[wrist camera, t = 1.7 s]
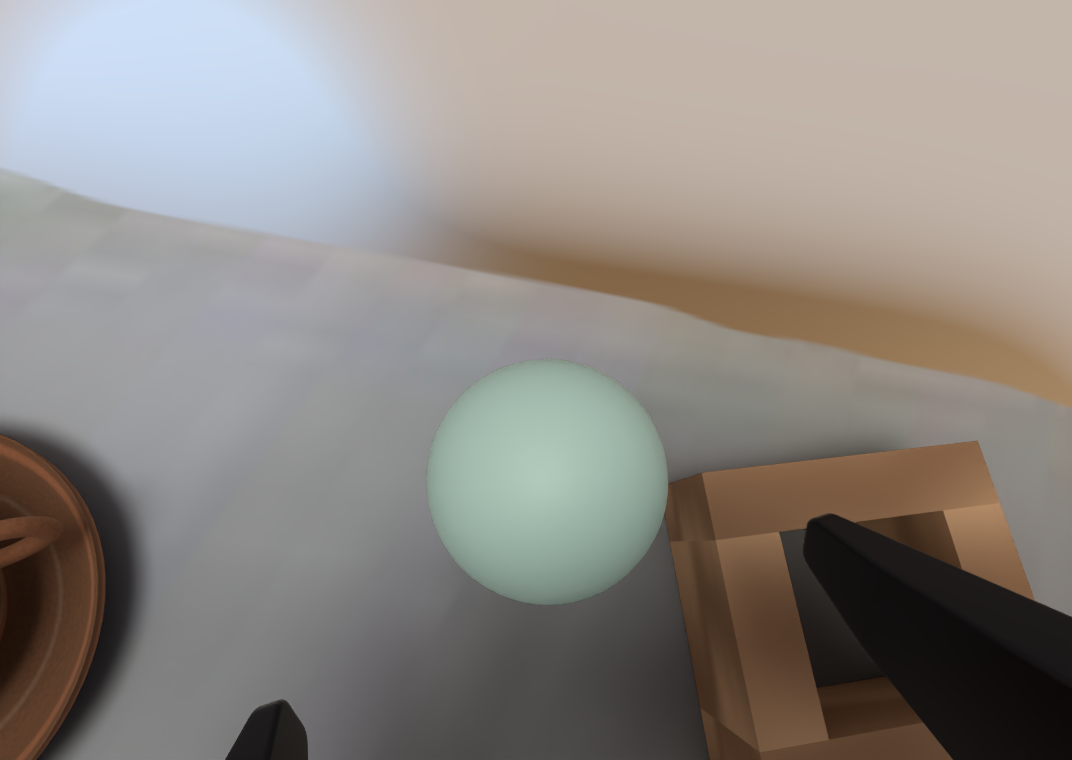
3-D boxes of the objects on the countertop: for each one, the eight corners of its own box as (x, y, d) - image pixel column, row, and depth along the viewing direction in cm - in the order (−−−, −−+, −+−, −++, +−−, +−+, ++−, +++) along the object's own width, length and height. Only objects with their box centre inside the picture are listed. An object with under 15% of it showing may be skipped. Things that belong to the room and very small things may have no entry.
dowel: (561, 561, 18) (737, 597, 6) (467, 574, 18) (420, 643, 5) (549, 468, 19) (677, 311, 6) (459, 478, 19) (402, 331, 6)
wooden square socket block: (968, 728, 18) (1097, 776, 14) (712, 775, 17) (777, 841, 13) (886, 460, 21) (977, 440, 17) (659, 487, 20) (701, 472, 16)
